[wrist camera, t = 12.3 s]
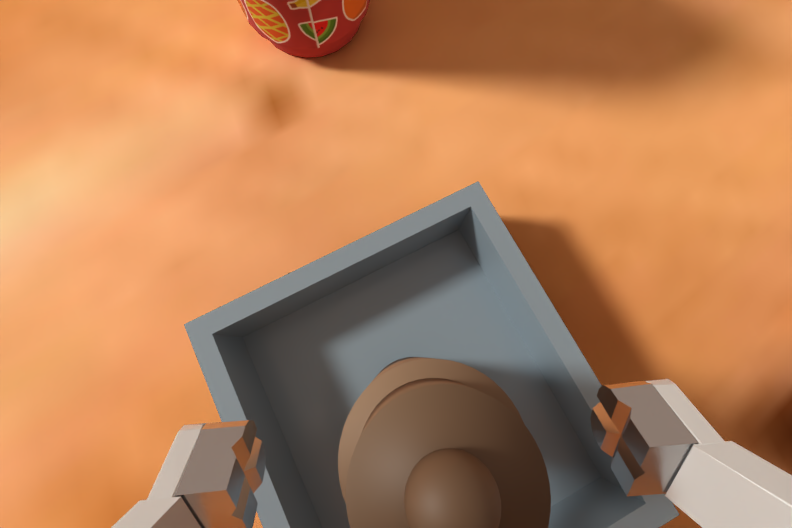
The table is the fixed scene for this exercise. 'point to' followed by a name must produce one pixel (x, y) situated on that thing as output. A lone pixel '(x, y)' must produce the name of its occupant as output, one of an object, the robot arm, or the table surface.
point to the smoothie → (306, 23)
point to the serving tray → (408, 337)
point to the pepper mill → (440, 453)
